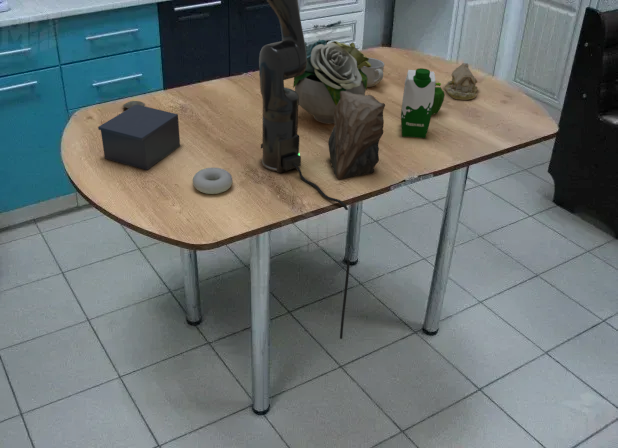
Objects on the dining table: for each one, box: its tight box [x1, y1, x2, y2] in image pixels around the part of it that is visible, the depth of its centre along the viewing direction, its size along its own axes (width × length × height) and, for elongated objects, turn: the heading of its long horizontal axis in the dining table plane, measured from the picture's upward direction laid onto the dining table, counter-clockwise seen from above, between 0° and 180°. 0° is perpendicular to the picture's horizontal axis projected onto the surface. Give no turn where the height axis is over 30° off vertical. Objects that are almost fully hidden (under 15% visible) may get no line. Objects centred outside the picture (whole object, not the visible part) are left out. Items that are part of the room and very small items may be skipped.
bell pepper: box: [431, 82, 446, 116], centre depth 210 cm, size 8×8×10 cm
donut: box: [192, 167, 233, 195], centre depth 169 cm, size 10×4×10 cm
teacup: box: [361, 57, 385, 88], centre depth 227 cm, size 14×11×8 cm
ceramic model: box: [444, 62, 478, 101], centre depth 225 cm, size 14×11×10 cm
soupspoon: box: [122, 100, 146, 109], centre depth 200 cm, size 22×3×7 cm
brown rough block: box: [327, 91, 386, 181], centre depth 176 cm, size 13×13×20 cm
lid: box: [97, 104, 179, 141], centre depth 178 cm, size 16×14×1 cm
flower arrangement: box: [292, 39, 371, 125], centre depth 199 cm, size 25×25×24 cm
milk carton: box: [400, 67, 437, 139], centre depth 195 cm, size 9×9×20 cm
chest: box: [100, 116, 181, 171], centre depth 181 cm, size 16×14×9 cm
